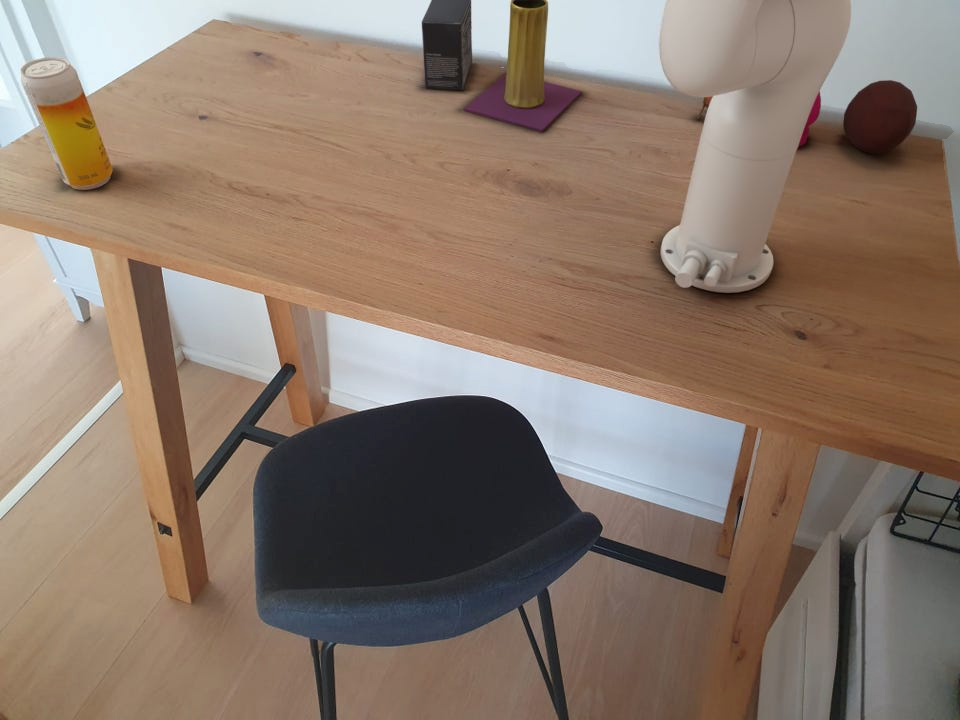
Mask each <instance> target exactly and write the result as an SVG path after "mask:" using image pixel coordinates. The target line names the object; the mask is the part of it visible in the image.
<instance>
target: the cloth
mask: <svg viewBox="0 0 960 720" xmlns="http://www.w3.org/2000/svg"><path fill="white" fill-rule="evenodd" d="M506 75H507V73H505V74H504V75H502V76H501V77H500V78H499V79H498V80H497V81H495V82H494V83H493V84H492V85H490V86H489V87H487V89H485V90H484V91H483V92H482V93H480V95H478V96H477V97H476V98H474V99H473V100H472V101H470V102H469V103H468V104H467V105H466V106H465V107H463V111H465V112H468V113H471V114H474V115H478V116H482V117H486V118H489V119H494V120H497V121H500V122H504V123H507V124H511V125H514V126H519V127H521V128H526V129H530V130H533V131H537V132H541V133H543V132H544V131H545V130H546V129H547V128H548V127H549V126H550V125H551V124H552V123H553V122H554V121H555V120H556V119H557V118H558V117H559V116H560V115H562V113H564V111H565V110H567V109H568V108H569V106H570V105H572V104H573V103H574V102H575V101H576V100H577V99H578V98H579V97H580V96H581V95H582V93H583V92H582V91H581V90H579V89H574V88H570V87H565V86H562V85H558V84H554V83H550V82H546V81H544V98H545V99H544V102H543V103H542V104H541V105H539V106H537V107H534V108H517V107H513V106H511V105H509V104H508V103H506V101H505V100H504V95H505V89H506Z"/></svg>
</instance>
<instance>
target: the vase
mask: <svg viewBox="0 0 960 720" xmlns="http://www.w3.org/2000/svg"><path fill="white" fill-rule="evenodd" d="M548 16H549V1H548V0H510V4H509V28H508V30H509V32H508V45H507V63H506V74H507V75H506V89H505V95H504V100H505V101H506V103H508V104H509V105H511V106H513V107H517V108H534V107H537V106H539V105H541V104H542V103H543V102H544V99H545V98H544V82H545V58H546V47H547V45H546V43H547V34H548V33H547V30H548V19H549V18H548Z"/></svg>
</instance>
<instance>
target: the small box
mask: <svg viewBox="0 0 960 720" xmlns="http://www.w3.org/2000/svg"><path fill="white" fill-rule="evenodd" d="M472 23H473V22H472V0H430V2H429V5H428V7H427V9H426V11H425V14H424V16H423V18H422V20H421V37H422V50H423V51H422V56H423V72H424V73H423V75H424V88H425V89H428V90H429V89H432V90H443V91H444V90H445V91H447V90H448V91H460V92H462V91H464V89H465V87H466V83H467V80H468V77H469V74H470V72H471V69H472V68H471V67H472V65H473V39H472V37H473V36H472V30H473V29H472V28H473V26H472Z"/></svg>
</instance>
